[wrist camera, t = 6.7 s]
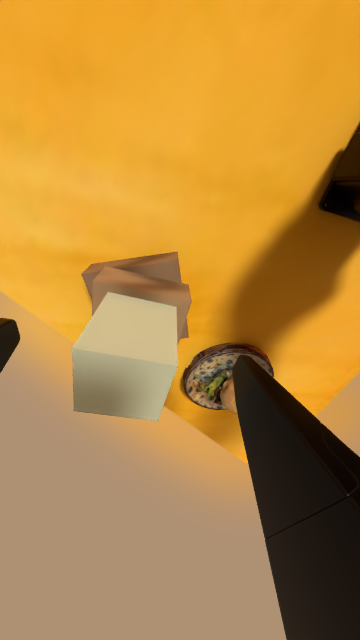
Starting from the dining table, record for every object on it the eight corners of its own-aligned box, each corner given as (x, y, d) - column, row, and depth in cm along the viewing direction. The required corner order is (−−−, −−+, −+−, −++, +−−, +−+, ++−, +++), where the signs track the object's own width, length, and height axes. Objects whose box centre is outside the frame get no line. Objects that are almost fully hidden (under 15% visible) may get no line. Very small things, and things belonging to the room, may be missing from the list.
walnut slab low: (177, 250, 19) (177, 260, 16) (186, 321, 23) (188, 337, 21) (93, 262, 19) (81, 274, 17) (118, 329, 23) (112, 347, 21)
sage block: (176, 306, 15) (177, 365, 10) (162, 355, 18) (157, 421, 13) (107, 291, 14) (72, 347, 9) (103, 344, 17) (73, 411, 12)
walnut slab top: (188, 284, 17) (191, 301, 15) (170, 345, 21) (170, 366, 19) (105, 266, 16) (92, 280, 14) (101, 333, 20) (91, 354, 17)
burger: (166, 378, 28) (164, 432, 22) (230, 324, 23) (251, 374, 17) (224, 409, 33) (236, 461, 26) (287, 369, 28) (320, 422, 22)
